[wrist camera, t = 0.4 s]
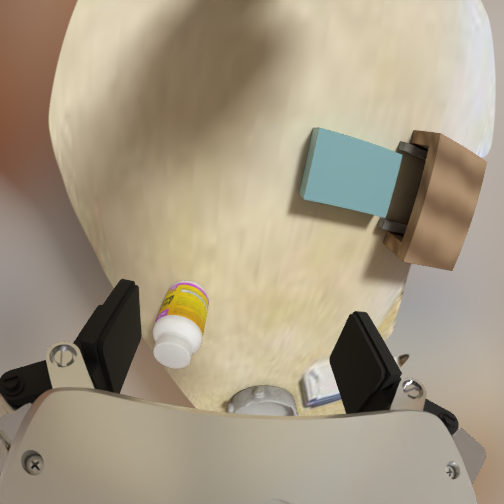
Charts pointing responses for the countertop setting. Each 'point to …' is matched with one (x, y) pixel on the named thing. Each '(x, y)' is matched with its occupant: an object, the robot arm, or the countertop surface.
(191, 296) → the supplement bottle
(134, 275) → the countertop surface
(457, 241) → the shelf dock
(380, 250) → the countertop surface
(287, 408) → the dish
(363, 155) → the pale blue foam block
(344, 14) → the countertop surface
